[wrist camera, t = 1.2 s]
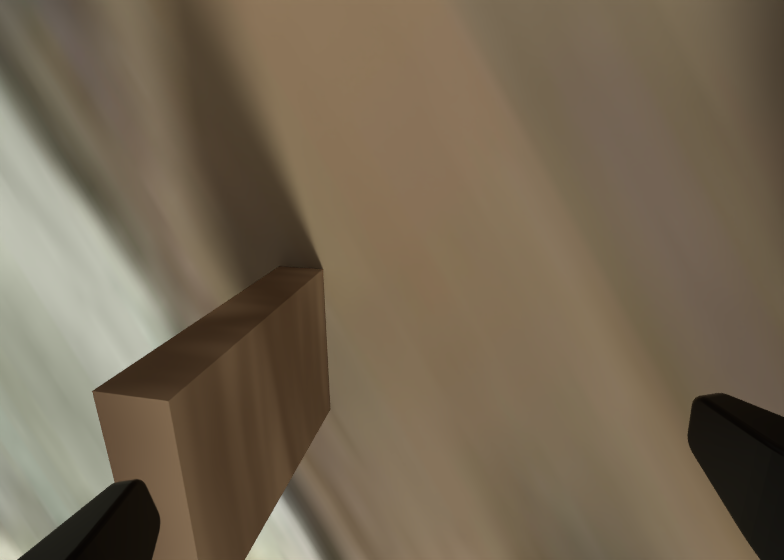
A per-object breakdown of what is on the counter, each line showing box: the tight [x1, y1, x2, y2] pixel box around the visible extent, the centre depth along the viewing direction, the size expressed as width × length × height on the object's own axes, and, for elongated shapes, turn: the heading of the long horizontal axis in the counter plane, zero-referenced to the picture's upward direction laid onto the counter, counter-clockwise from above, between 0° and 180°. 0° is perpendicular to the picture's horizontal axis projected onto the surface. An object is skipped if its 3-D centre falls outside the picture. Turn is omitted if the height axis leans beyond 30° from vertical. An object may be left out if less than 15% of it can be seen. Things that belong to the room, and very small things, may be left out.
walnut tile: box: [92, 266, 330, 560], centre depth 16 cm, size 2×7×10 cm, turn 1°
